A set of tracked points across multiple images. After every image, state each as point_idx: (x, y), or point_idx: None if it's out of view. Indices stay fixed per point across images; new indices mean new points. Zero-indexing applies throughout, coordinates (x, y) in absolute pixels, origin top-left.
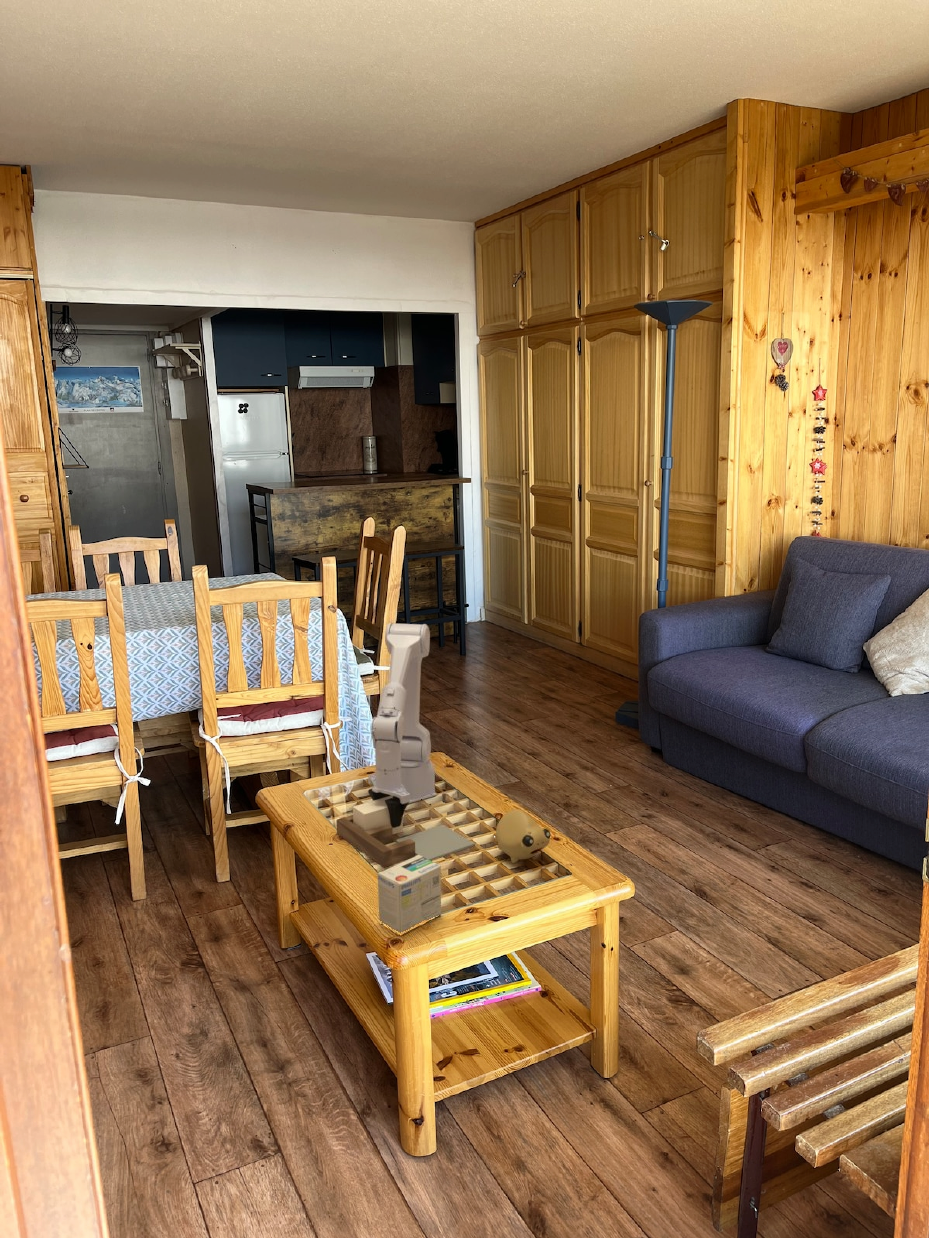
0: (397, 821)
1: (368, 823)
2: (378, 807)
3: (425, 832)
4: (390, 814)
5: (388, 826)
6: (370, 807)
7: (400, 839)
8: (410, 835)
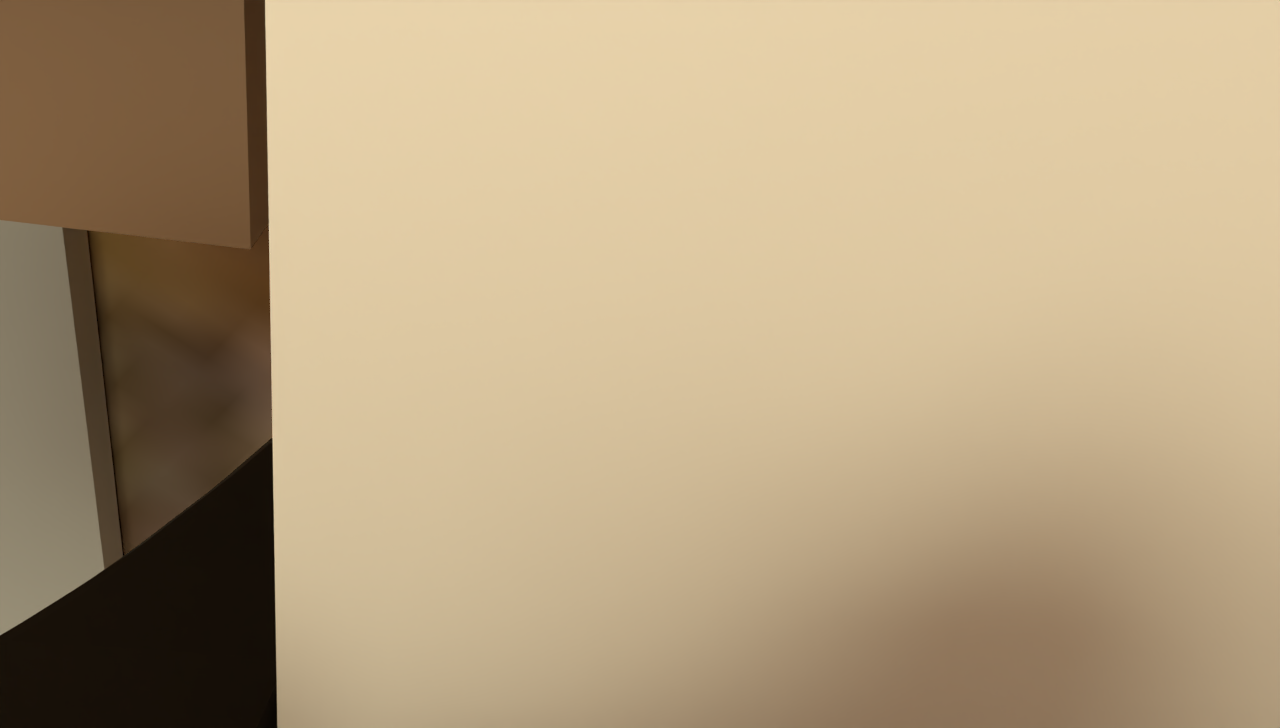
0: None
1: None
2: (650, 479)
3: None
4: (227, 575)
5: (55, 148)
6: (1130, 86)
7: (12, 224)
8: (77, 478)
